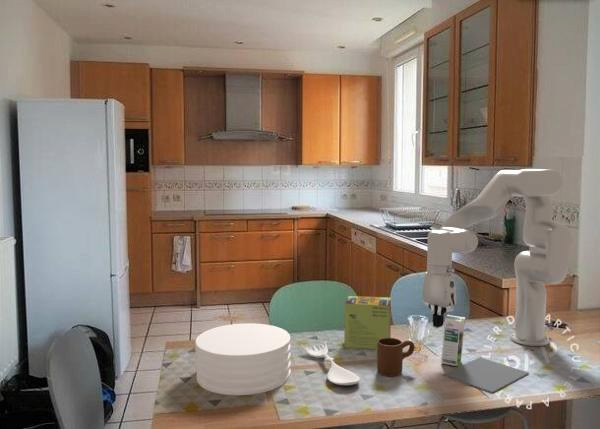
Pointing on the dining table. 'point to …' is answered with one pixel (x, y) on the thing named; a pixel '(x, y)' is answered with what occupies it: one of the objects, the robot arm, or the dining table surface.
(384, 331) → the protein box
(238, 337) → the plate stack
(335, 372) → the spoon
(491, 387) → the rubber mat
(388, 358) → the mug
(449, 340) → the syrup box
